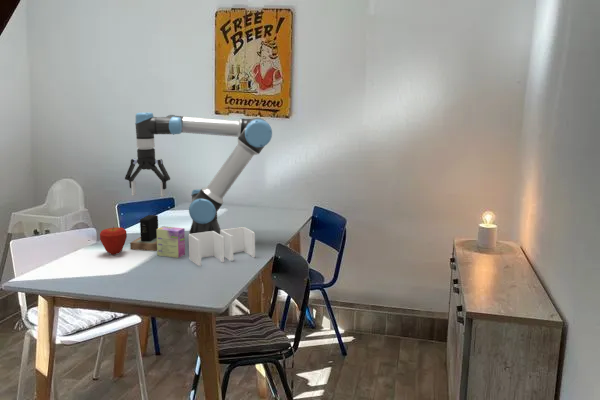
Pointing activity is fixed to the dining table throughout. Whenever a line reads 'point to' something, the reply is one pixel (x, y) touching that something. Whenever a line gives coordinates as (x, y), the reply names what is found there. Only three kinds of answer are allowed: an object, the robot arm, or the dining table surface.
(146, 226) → the electronic device
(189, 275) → the dining table surface
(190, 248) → the white folding screen
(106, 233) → the apple
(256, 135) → the robot arm
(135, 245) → the wooden tray
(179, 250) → the box
